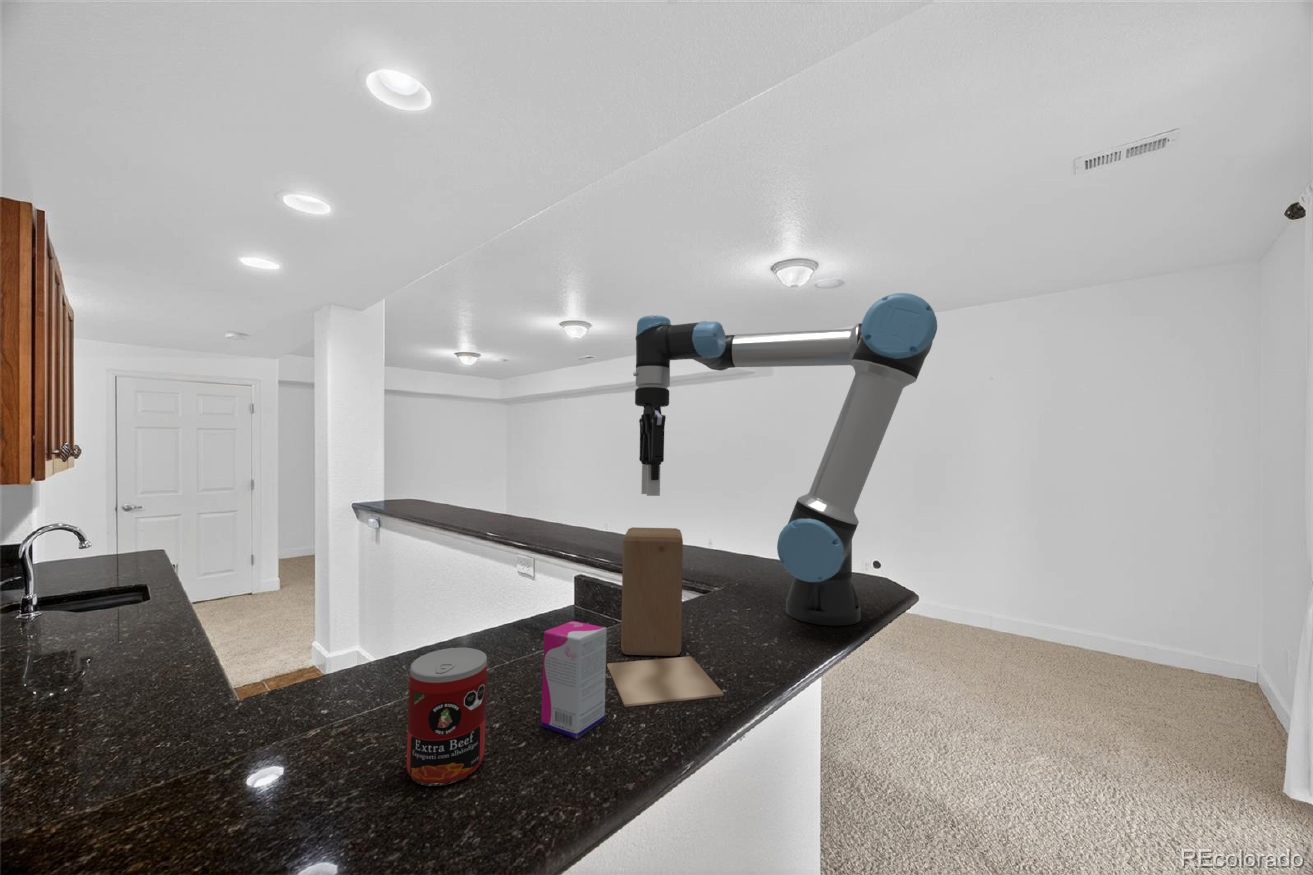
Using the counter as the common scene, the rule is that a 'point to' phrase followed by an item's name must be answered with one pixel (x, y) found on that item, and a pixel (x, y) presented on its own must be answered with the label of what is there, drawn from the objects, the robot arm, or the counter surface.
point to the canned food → (446, 714)
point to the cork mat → (661, 681)
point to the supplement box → (573, 678)
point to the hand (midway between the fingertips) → (650, 494)
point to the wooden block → (652, 592)
